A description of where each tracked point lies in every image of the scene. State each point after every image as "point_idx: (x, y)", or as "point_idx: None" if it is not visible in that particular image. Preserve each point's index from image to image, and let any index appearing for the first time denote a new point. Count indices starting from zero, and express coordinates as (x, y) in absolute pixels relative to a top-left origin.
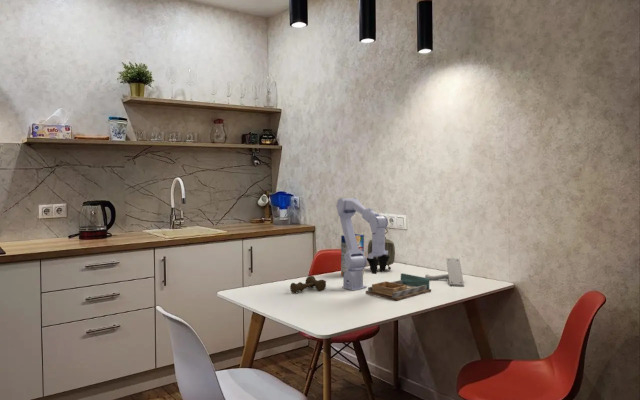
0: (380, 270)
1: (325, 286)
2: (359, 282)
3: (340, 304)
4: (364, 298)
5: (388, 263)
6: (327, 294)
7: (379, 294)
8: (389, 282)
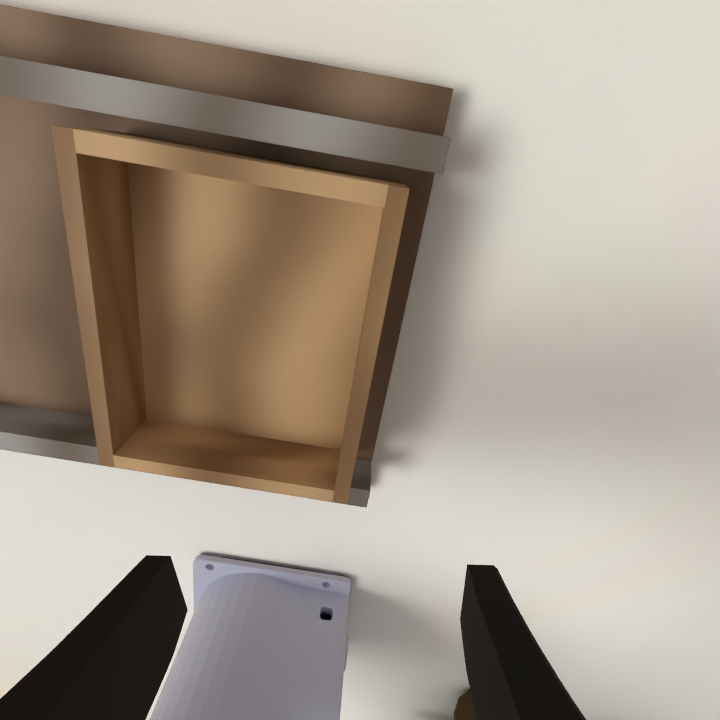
0: (183, 614)
1: (461, 714)
2: (264, 621)
3: None
4: (532, 417)
5: None
6: (558, 639)
7: (392, 355)
8: (108, 413)
